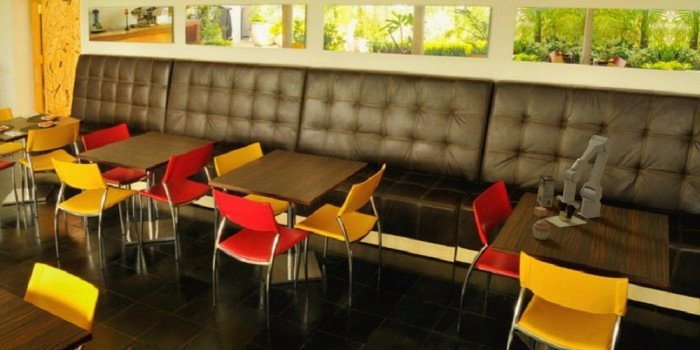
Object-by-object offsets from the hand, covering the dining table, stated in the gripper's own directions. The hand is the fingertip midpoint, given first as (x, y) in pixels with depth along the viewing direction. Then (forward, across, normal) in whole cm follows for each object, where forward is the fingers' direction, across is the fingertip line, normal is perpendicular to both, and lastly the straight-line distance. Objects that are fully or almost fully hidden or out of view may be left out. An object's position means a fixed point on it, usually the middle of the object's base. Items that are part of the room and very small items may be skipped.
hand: (565, 216), depth 316 cm
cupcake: (+3, +14, -28) cm, 31 cm away
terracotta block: (+3, -12, -7) cm, 14 cm away
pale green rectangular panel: (+3, 0, 0) cm, 3 cm away
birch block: (+2, 0, 0) cm, 2 cm away
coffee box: (+3, -24, +7) cm, 26 cm away
